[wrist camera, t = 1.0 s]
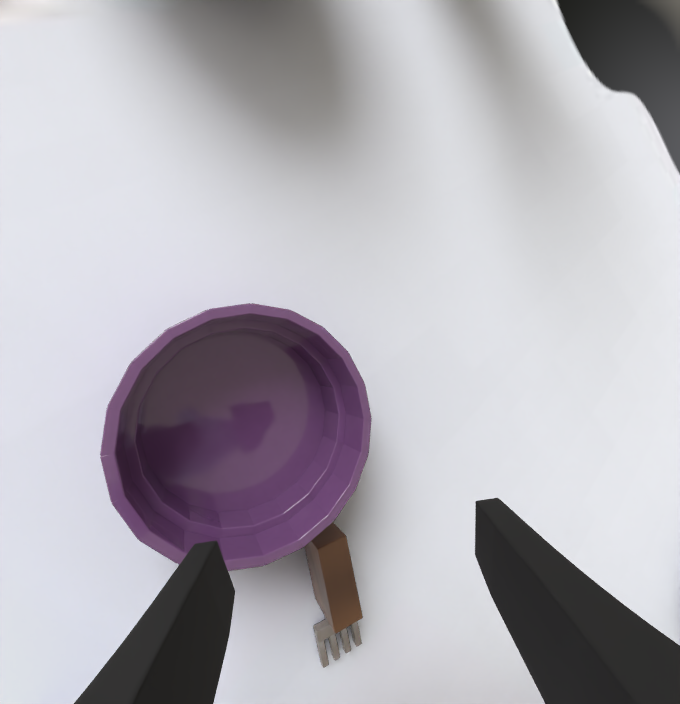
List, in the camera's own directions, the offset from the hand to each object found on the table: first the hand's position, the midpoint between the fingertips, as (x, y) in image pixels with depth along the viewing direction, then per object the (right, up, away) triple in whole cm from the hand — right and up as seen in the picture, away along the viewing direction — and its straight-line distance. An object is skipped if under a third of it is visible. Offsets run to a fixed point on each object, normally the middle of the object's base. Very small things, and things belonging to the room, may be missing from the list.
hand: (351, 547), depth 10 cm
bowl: (-6, +1, +11) cm, 13 cm away
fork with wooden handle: (-1, -10, +13) cm, 16 cm away
